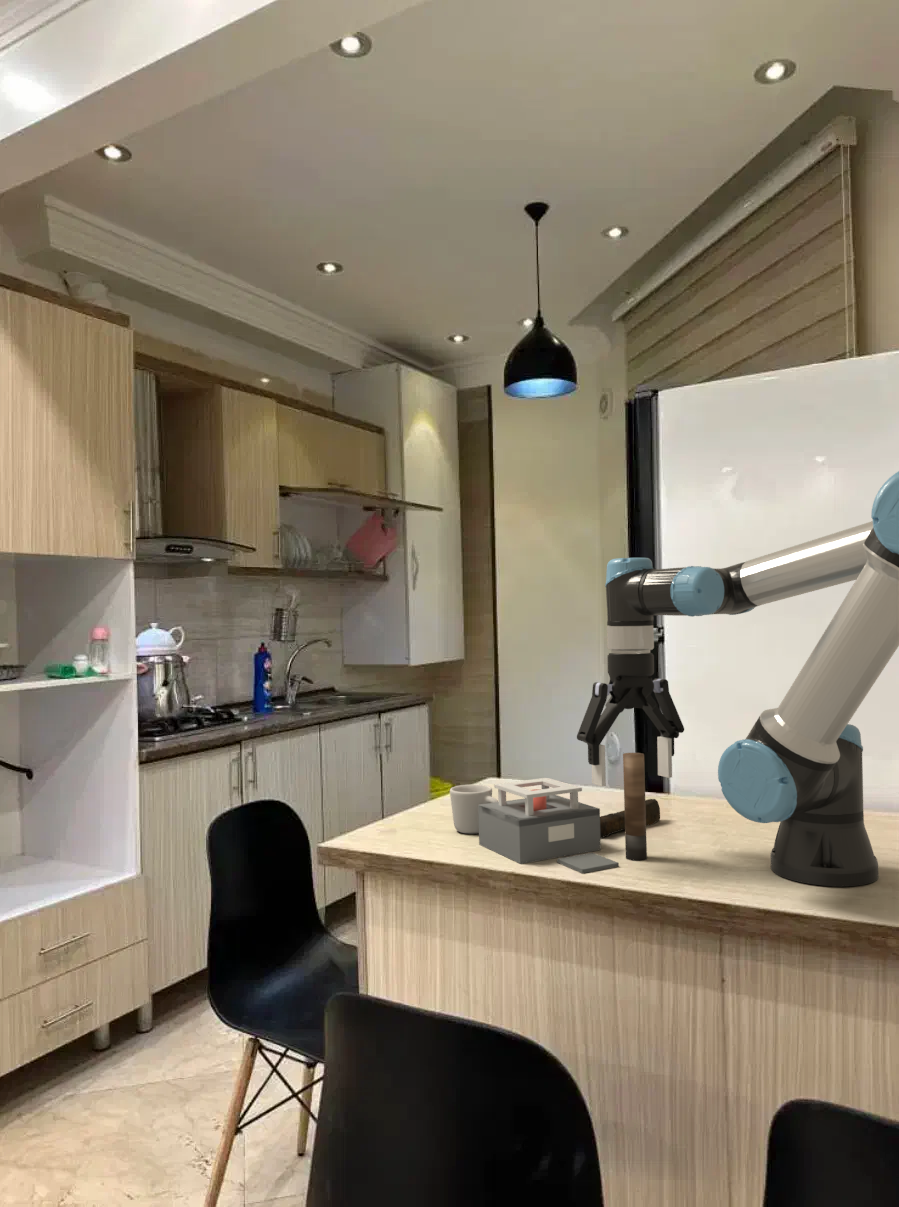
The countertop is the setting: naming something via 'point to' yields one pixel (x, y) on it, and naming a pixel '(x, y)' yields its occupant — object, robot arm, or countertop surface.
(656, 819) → the hand tool
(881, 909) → the countertop surface
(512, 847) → the framed red button box
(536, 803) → the plunger
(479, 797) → the cup
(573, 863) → the pad
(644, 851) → the brown wooden rod
